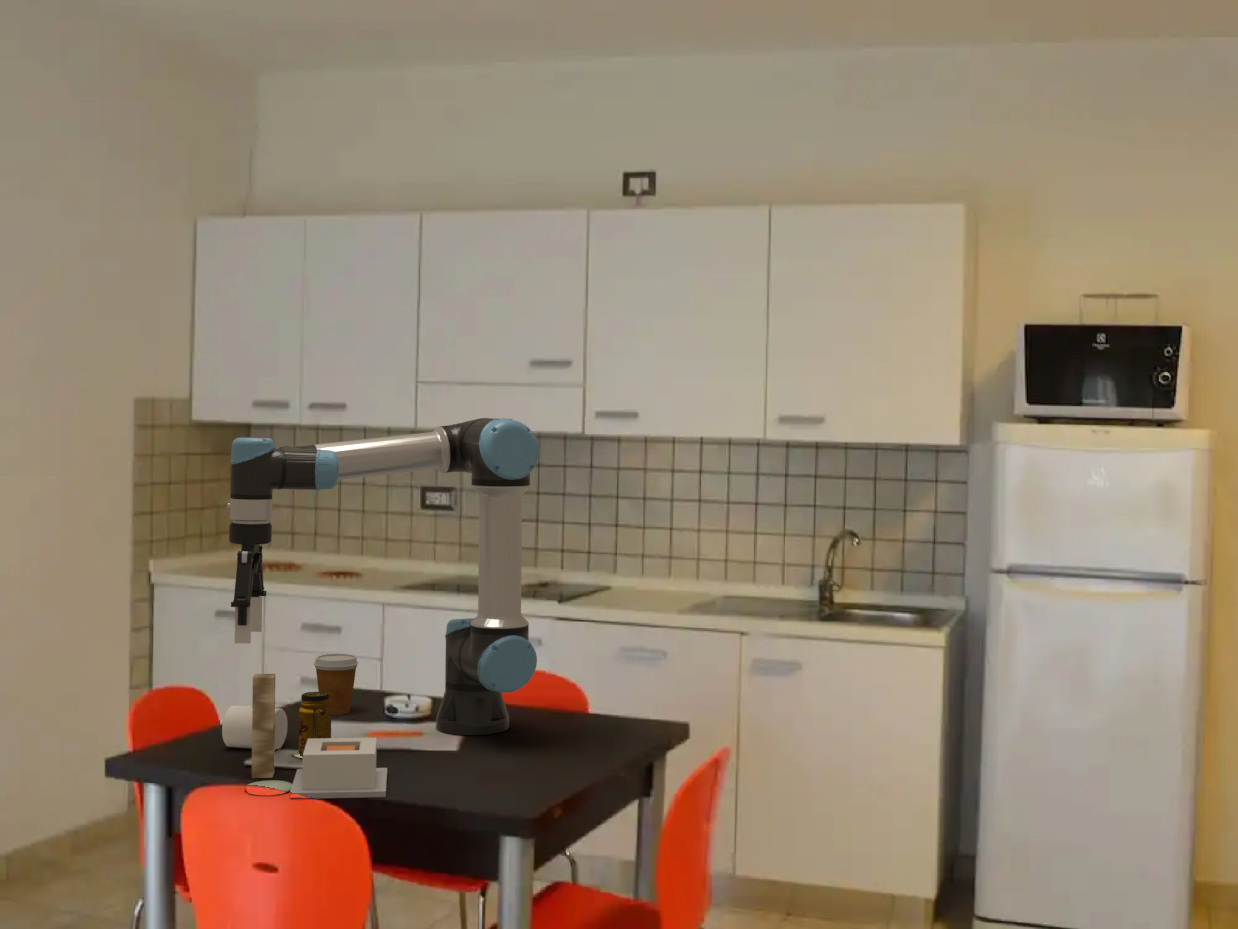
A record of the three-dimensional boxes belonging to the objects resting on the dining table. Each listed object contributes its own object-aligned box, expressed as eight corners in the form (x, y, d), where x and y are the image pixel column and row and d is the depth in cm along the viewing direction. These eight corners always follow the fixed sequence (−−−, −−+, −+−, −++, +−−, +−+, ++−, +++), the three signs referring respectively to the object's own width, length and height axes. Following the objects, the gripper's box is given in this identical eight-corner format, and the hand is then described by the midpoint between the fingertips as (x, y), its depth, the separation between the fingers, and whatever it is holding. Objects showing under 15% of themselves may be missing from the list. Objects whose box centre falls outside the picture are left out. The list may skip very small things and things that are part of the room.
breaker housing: (387, 773, 256) (387, 735, 256) (385, 797, 240) (386, 756, 240) (297, 774, 254) (297, 736, 253) (289, 799, 238) (290, 757, 238)
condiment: (289, 755, 268) (290, 693, 267) (328, 749, 274) (329, 687, 273) (309, 763, 262) (310, 699, 262) (348, 756, 268) (349, 693, 268)
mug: (269, 754, 268) (270, 713, 268) (221, 751, 270) (221, 709, 270) (296, 740, 280) (296, 700, 280) (249, 737, 282) (250, 697, 282)
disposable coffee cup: (364, 709, 310) (365, 655, 310) (346, 718, 301) (347, 662, 300) (324, 706, 312) (325, 652, 312) (305, 715, 303) (306, 659, 303)
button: (354, 765, 250) (355, 745, 249) (353, 772, 245) (354, 752, 245) (327, 765, 249) (327, 745, 249) (325, 772, 244) (325, 752, 244)
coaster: (294, 783, 248) (294, 780, 248) (290, 795, 240) (290, 792, 240) (247, 784, 247) (247, 780, 247) (242, 796, 239) (242, 793, 239)
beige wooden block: (274, 772, 255) (275, 673, 254) (272, 777, 251) (273, 677, 251) (253, 773, 254) (255, 673, 254) (251, 778, 251) (252, 677, 250)
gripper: (240, 516, 270) (238, 626, 271) (217, 526, 245) (215, 648, 246) (280, 517, 271) (278, 627, 271) (261, 527, 246) (259, 648, 247)
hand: (248, 637), depth 259 cm, fingers open, 13 cm apart
